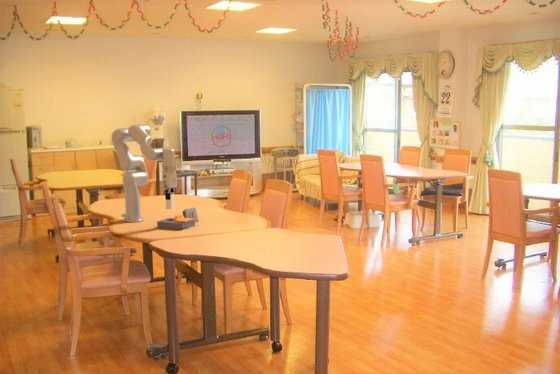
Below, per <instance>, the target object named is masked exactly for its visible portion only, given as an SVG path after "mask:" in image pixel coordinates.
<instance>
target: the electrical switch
mask: <svg viewBox="0 0 560 374" xmlns="http://www.w3.org/2000/svg"><path fill="white" fill-rule="evenodd" d="M182 217H183V218H193V219H195V223H197V222H199V217H198V212H197V207H190V208H184V210H182Z"/></svg>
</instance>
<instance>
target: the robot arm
mask: <svg viewBox="0 0 560 374" xmlns="http://www.w3.org/2000/svg"><path fill="white" fill-rule="evenodd" d="M151 133H152V132H151V128H150V127H149V126H148V125H147V124H132V125H131V126H129V127H126V128H125V127H124V128H122V127H121V128H117V129H115V130H113V132H112V133H111V143H112V147H113V148H114V149H115V153H116V155H117V159H118V162H119V165H120V168H121V169H122V170H123V171H126V172H125V173H124V174H123V176H122V180H121V181H122V184H123V189H124V190H123V191H124V207H125V212H124V213H121V217H122V218H123V222H126V223H137V222H138V223H139V222H143V221H144V217H142V213H141V212H142V211H141V208H142V207H141V193H140V190H139V188H138V187H140V186H146V185H148V183H149V180H150V178H149V177H150V176H149V173H148V169H147V165H146V163H145V160H144V158H146V159H147V160H148V161H150V162H157V161H161V162H162V163H161V164H162V165H161V166H162V179H161V181H162V182H161V183H162V185H161V186H162V188H161V189H162V190H163V192H164V194H165V197H164V198H165V201H166V200H170V193H169V192H176V189H177V187H178V176H177V175H178V174H177V171H176V157H175V156H176V152H175V149H174V148H166V147H157V148H156V147H154V148H153V147H150V145H151V144H152V141H153V139H152V136H151ZM126 142H136V143H137V144H138V145H139V148H140V152H141V154H142V155H143V157H144V158H143V157H142V156H141V155H139V154H138V155H137V154H135V155H133V154H132V153H131V150H130V147H129V146H128V145H127V144H126Z"/></svg>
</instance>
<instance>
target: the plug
mask: <svg viewBox="0 0 560 374" xmlns="http://www.w3.org/2000/svg"><path fill="white" fill-rule="evenodd" d="M175 192H176V191H175ZM175 192H170V191H169V193H170V200H166V199H165V210H174V209H176V201H175V200H176V197H175V196H176V195H175Z"/></svg>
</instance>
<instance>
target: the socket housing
mask: <svg viewBox="0 0 560 374" xmlns="http://www.w3.org/2000/svg"><path fill="white" fill-rule="evenodd" d="M174 220H175V217H167V218H164V219H161V220H157V221H156V227H157V229H164V228H166V229H167V230H176V229H179V230H178V231H184V230H187V229H190V228H192V227H195V226H196V222H195V219H193V220H191V221H188V222H174Z"/></svg>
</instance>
